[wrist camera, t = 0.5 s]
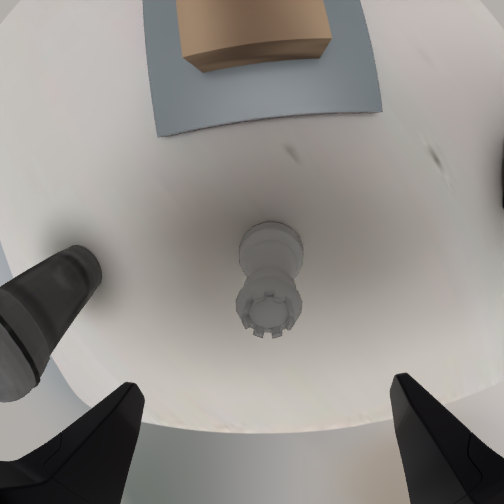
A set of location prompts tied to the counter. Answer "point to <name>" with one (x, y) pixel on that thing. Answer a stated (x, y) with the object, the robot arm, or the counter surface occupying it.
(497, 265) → the counter surface
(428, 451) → the robot arm
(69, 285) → the beverage cup
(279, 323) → the rook chess piece
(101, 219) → the counter surface
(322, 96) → the build plate
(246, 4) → the base brick
